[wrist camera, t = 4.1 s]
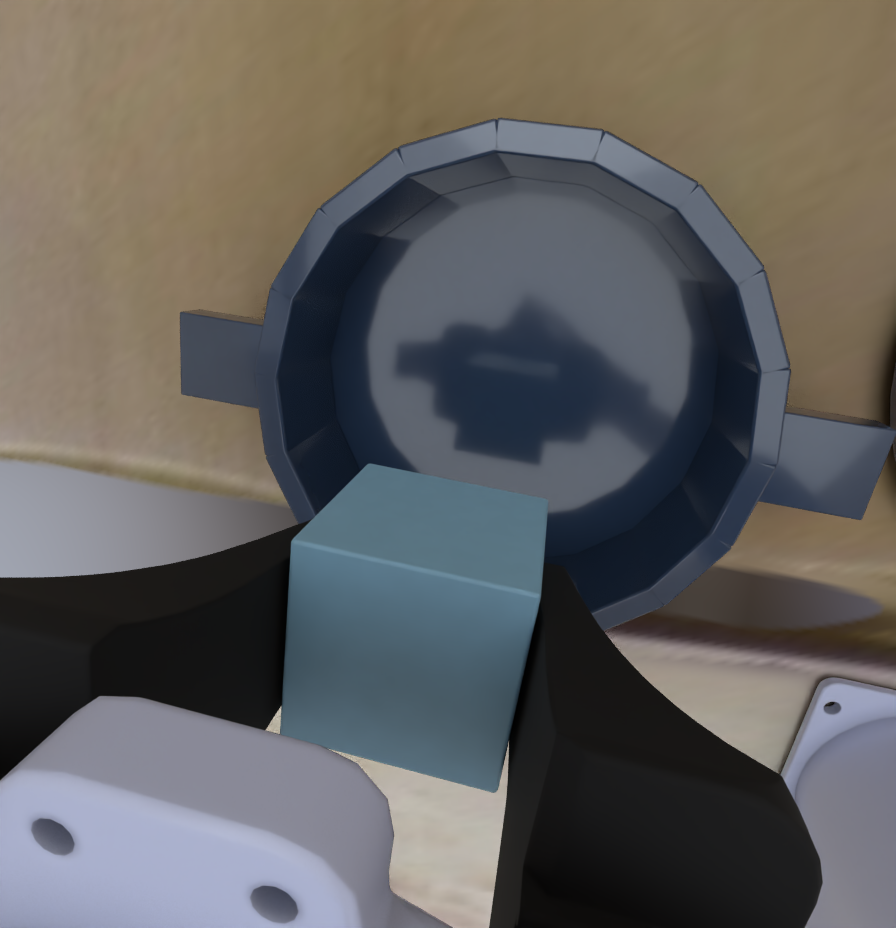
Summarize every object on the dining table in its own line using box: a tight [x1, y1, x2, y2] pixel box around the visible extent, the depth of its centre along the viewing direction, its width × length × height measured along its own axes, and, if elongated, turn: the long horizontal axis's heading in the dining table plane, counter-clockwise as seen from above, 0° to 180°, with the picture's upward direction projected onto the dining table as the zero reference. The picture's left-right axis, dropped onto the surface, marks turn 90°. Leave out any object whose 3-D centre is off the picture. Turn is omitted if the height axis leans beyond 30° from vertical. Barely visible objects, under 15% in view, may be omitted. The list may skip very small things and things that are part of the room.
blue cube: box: [280, 464, 548, 793], centre depth 12 cm, size 4×4×4 cm
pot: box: [180, 118, 896, 631], centre depth 17 cm, size 13×19×4 cm
